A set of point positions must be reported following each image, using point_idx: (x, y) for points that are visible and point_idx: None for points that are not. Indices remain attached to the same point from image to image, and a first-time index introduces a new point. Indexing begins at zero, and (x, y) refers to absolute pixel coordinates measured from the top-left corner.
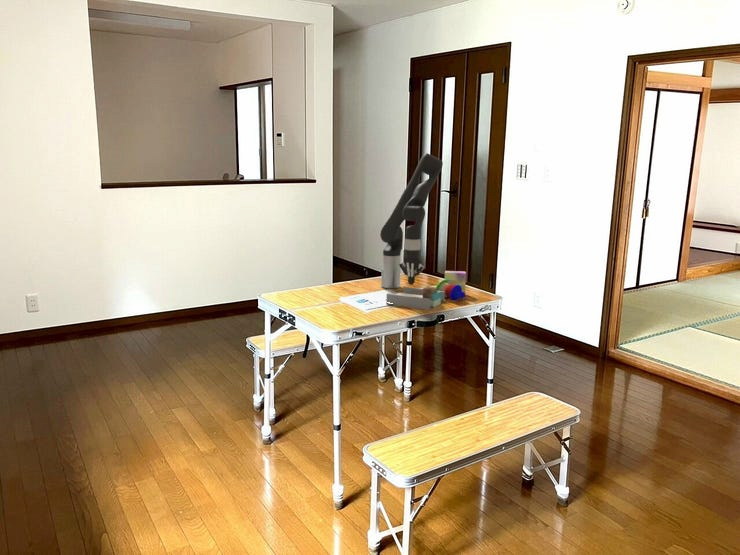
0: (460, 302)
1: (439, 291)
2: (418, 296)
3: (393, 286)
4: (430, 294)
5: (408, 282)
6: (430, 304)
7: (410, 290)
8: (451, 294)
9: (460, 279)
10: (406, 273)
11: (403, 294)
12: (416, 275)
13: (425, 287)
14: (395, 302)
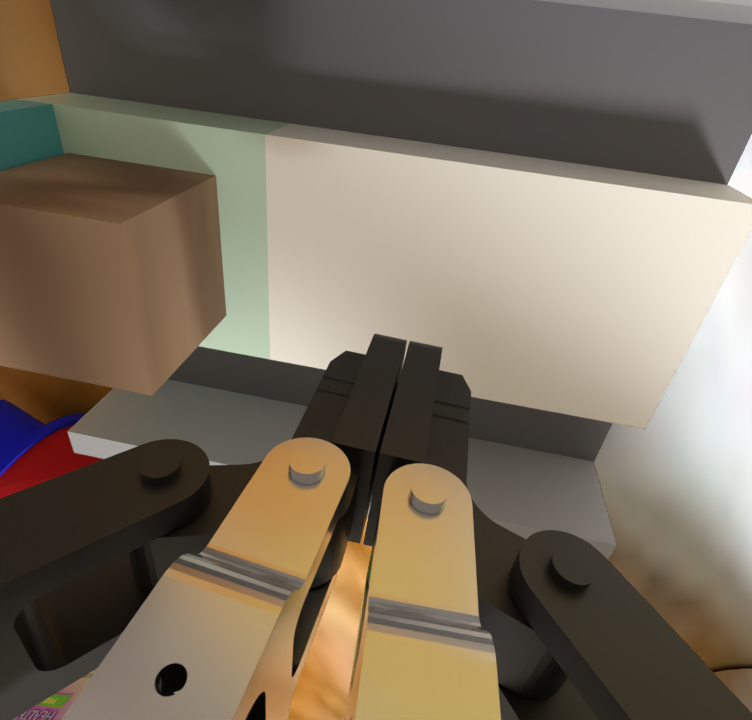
0: (29, 398)
1: (122, 444)
2: (330, 304)
3: (735, 687)
4: (34, 176)
5: (457, 379)
6: (101, 101)
7: (501, 495)
8: (37, 436)
9: (61, 690)
10: (529, 570)
11: (563, 345)
12: (128, 452)
13: (139, 335)
14: None
